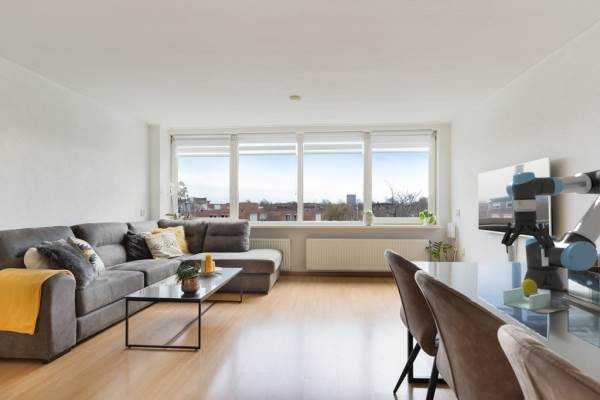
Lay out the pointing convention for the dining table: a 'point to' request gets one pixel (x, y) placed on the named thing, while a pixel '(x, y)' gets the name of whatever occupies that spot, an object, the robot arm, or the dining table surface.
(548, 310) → the board
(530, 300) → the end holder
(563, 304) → the clip
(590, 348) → the dining table surface
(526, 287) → the lemon
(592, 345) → the dining table surface
